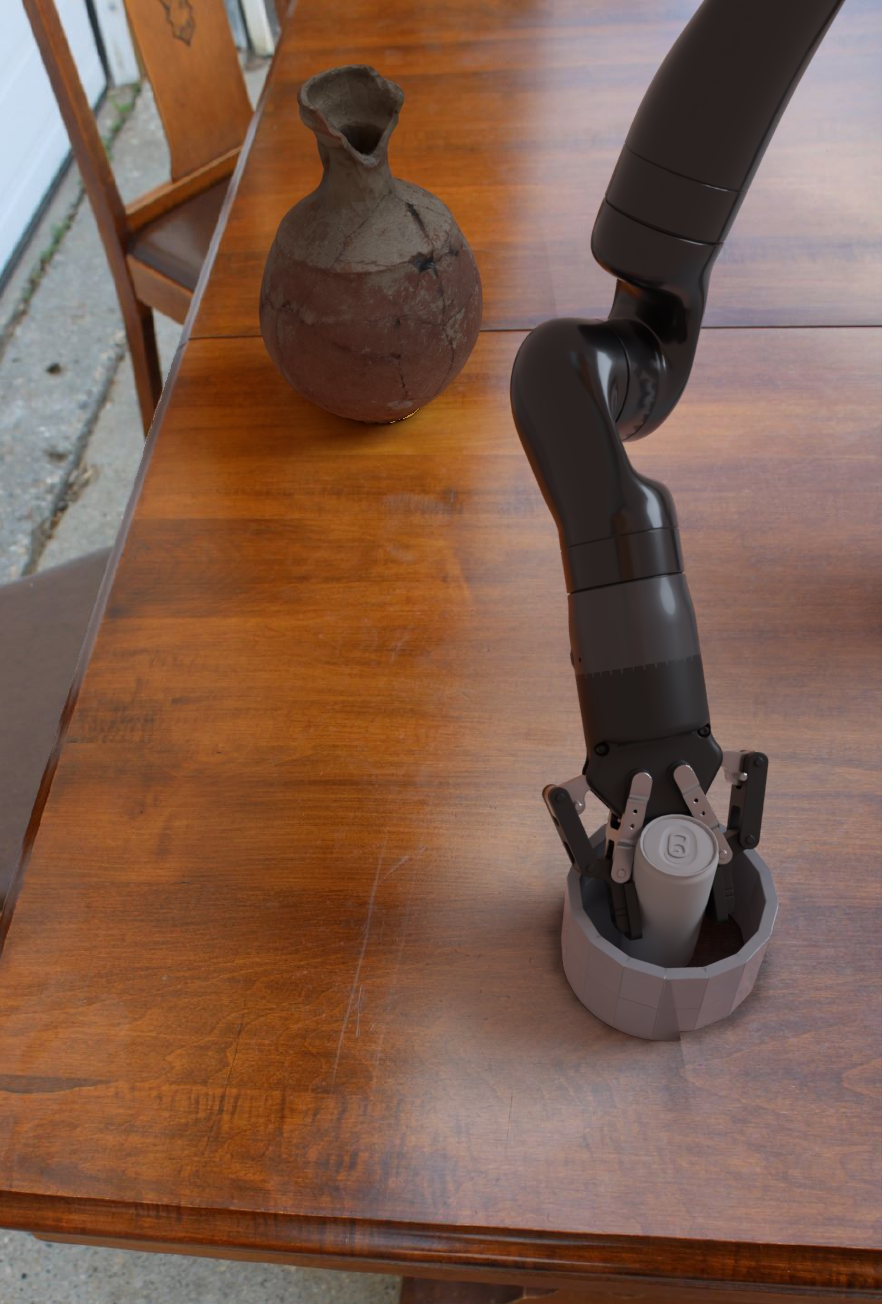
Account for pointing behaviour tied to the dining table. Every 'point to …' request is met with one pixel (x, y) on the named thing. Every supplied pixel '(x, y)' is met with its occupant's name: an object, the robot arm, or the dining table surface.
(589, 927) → the pot
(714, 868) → the beverage can
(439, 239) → the jug
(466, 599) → the dining table surface
